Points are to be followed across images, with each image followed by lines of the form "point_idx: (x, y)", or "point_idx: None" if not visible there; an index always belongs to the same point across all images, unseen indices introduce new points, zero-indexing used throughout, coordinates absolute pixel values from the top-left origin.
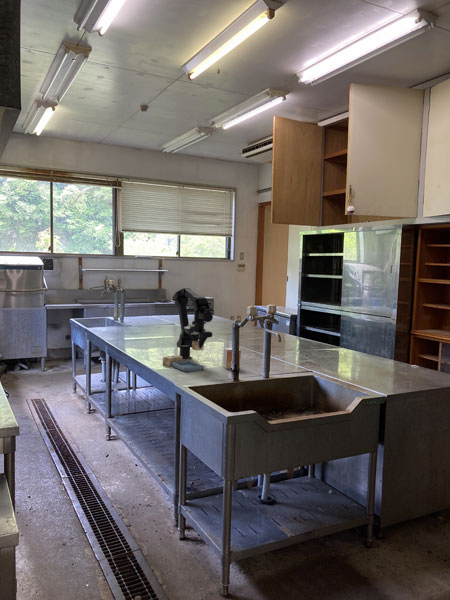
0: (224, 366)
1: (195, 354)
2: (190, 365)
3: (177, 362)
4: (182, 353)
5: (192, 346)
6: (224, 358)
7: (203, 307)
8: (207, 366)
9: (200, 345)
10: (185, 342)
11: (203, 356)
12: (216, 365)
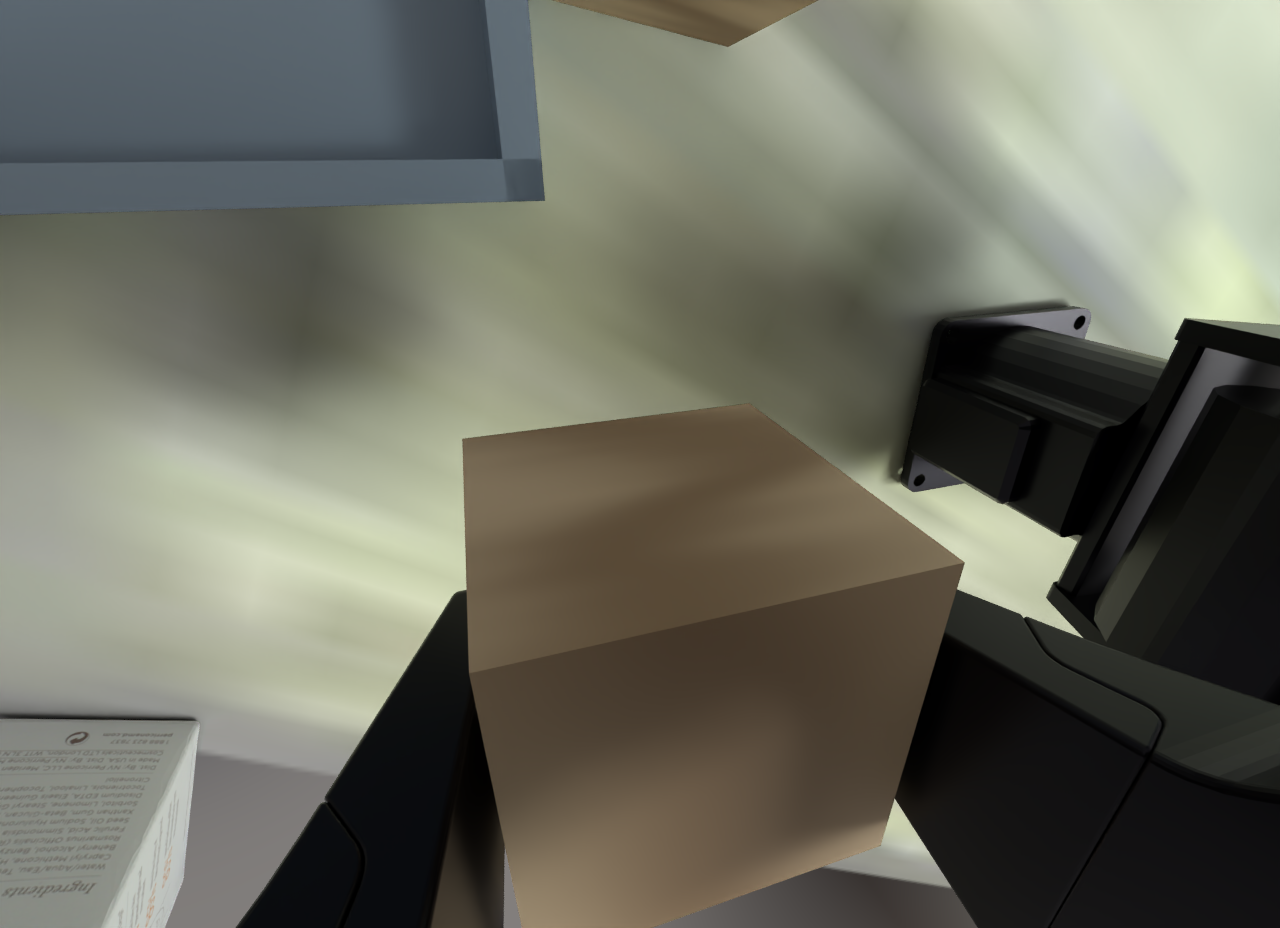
0: (90, 733)
1: (1009, 601)
2: (302, 88)
3: None
4: (1041, 357)
5: (784, 442)
6: (37, 887)
7: None
8: (263, 479)
9: (410, 699)
10: (1256, 458)
11: None
12: (322, 647)
